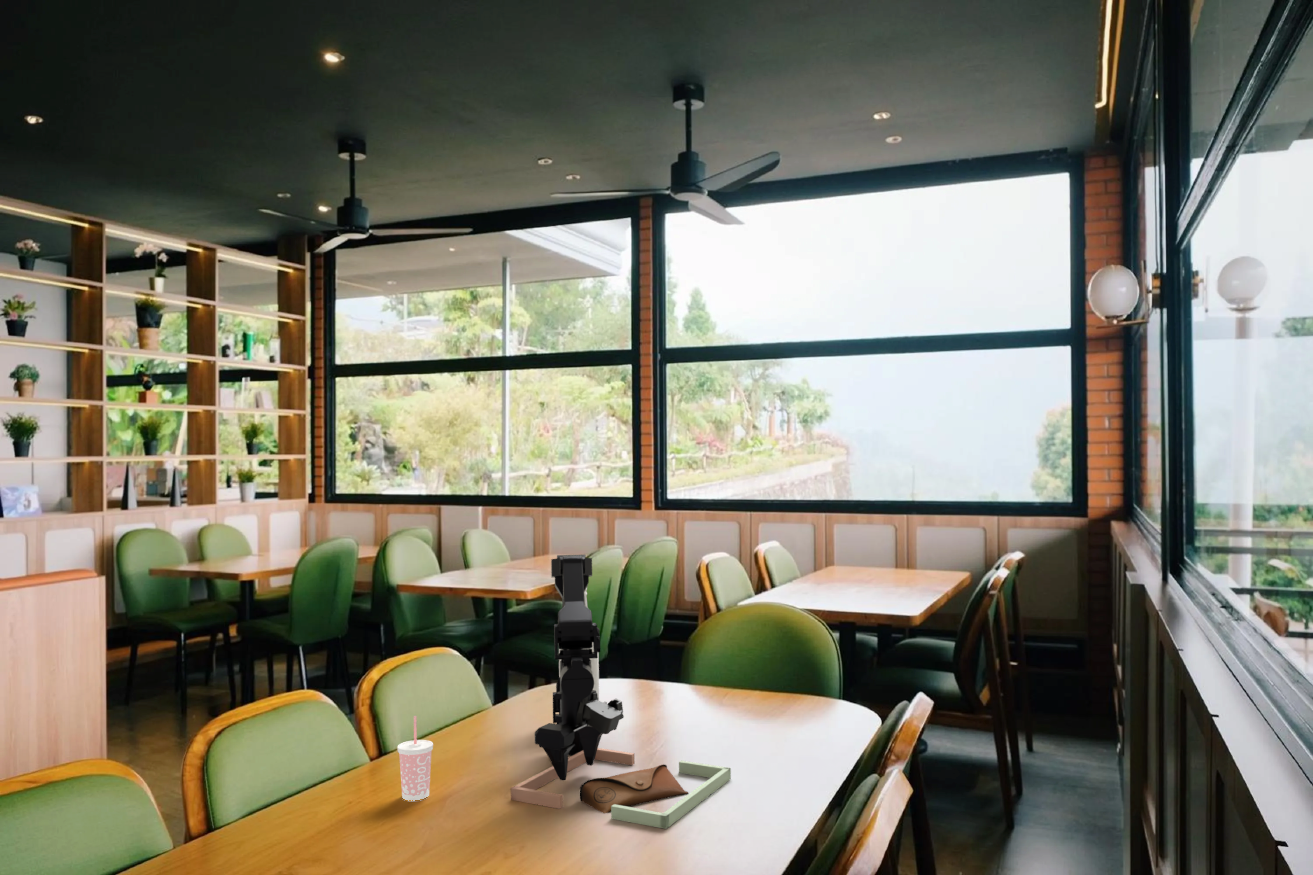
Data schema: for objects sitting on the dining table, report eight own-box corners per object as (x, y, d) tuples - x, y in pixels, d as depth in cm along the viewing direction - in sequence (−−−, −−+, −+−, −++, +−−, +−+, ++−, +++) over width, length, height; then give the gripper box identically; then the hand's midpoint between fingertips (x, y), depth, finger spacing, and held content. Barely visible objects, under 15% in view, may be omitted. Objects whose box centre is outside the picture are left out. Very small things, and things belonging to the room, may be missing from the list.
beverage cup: (401, 805, 162) (401, 722, 163) (394, 794, 168) (393, 714, 168) (437, 798, 165) (437, 717, 166) (428, 788, 171) (428, 709, 171)
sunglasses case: (603, 814, 157) (592, 773, 160) (585, 825, 162) (575, 785, 165) (692, 792, 167) (681, 754, 170) (673, 803, 172) (662, 766, 175)
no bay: (511, 799, 164) (510, 787, 165) (589, 756, 188) (589, 746, 188) (559, 808, 160) (559, 796, 160) (634, 763, 183) (634, 753, 183)
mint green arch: (611, 818, 155) (611, 806, 155) (681, 771, 178) (681, 760, 178) (666, 828, 151) (665, 815, 151) (730, 778, 174) (730, 767, 174)
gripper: (586, 702, 162) (587, 795, 162) (639, 679, 179) (640, 763, 178) (532, 696, 167) (533, 785, 167) (588, 674, 184) (589, 755, 183)
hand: (576, 772), depth 174 cm, fingers open, 9 cm apart
